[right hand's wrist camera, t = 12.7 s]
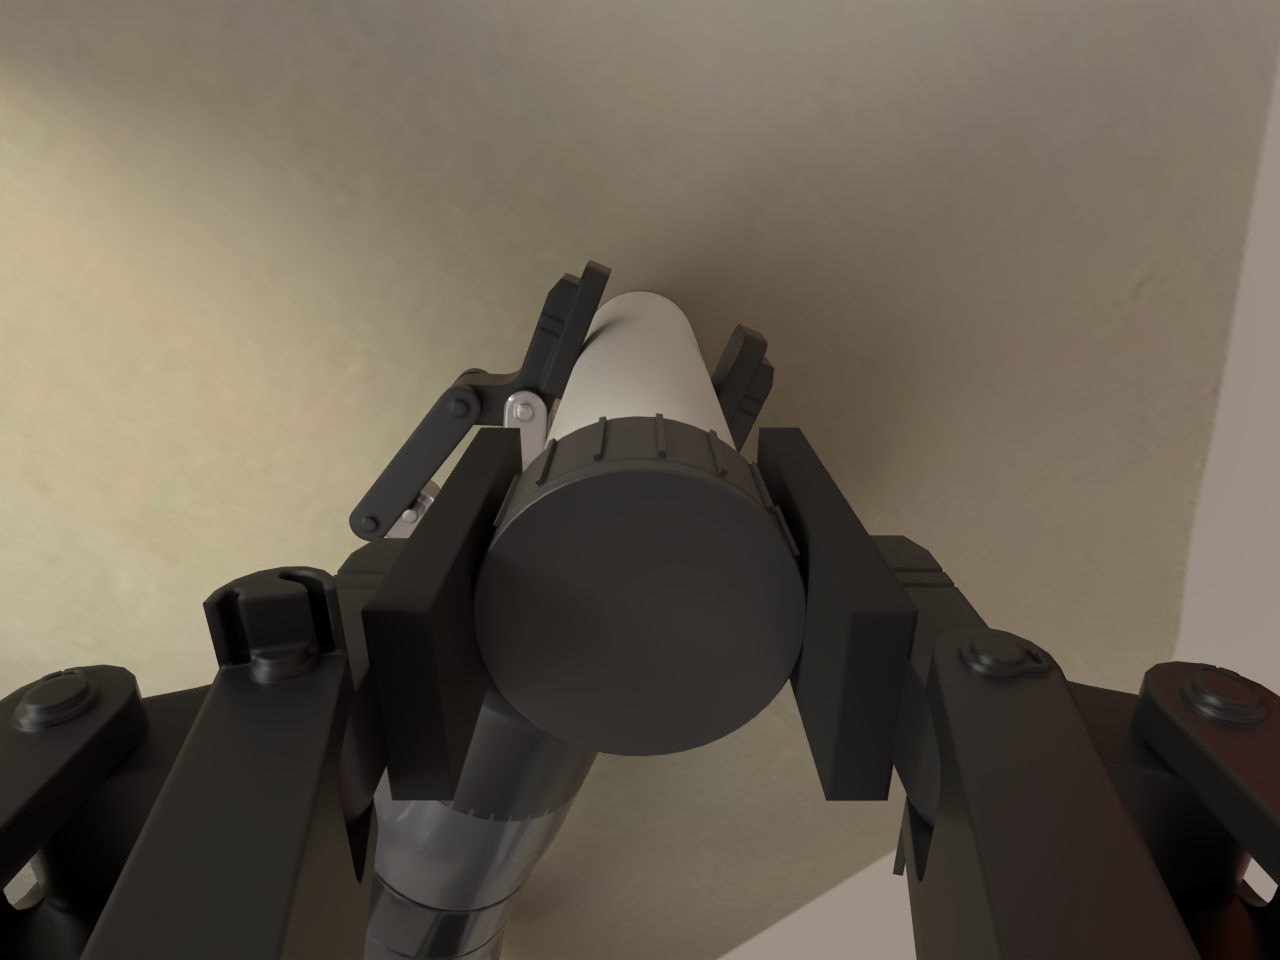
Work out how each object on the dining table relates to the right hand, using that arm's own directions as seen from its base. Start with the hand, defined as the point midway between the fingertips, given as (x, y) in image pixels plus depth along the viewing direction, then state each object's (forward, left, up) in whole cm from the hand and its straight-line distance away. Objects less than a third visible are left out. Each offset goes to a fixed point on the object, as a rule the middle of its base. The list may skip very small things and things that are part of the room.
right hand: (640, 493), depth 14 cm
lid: (0, 0, +4) cm, 4 cm away
